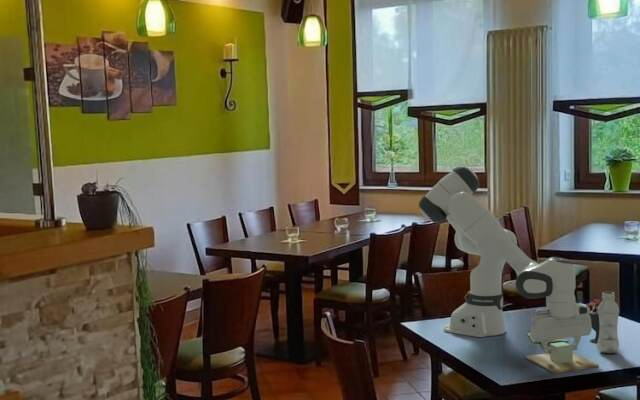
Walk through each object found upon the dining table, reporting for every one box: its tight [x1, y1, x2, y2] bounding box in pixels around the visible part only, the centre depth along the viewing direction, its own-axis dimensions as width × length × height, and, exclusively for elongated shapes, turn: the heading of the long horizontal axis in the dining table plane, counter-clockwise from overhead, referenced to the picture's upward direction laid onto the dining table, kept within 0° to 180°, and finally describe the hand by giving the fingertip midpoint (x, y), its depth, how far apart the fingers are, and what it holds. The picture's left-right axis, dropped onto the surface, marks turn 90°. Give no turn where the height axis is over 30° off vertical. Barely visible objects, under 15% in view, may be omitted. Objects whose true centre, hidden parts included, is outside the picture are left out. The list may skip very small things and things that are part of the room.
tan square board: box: [525, 352, 600, 374], centre depth 246 cm, size 16×16×1 cm
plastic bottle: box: [596, 291, 620, 354], centre depth 253 cm, size 6×7×20 cm
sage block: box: [549, 341, 574, 363], centre depth 245 cm, size 5×5×5 cm
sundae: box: [589, 298, 603, 344], centre depth 266 cm, size 7×7×15 cm
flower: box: [585, 298, 603, 308], centre depth 296 cm, size 10×9×8 cm
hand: (561, 351), depth 245 cm, fingers open, 8 cm apart
